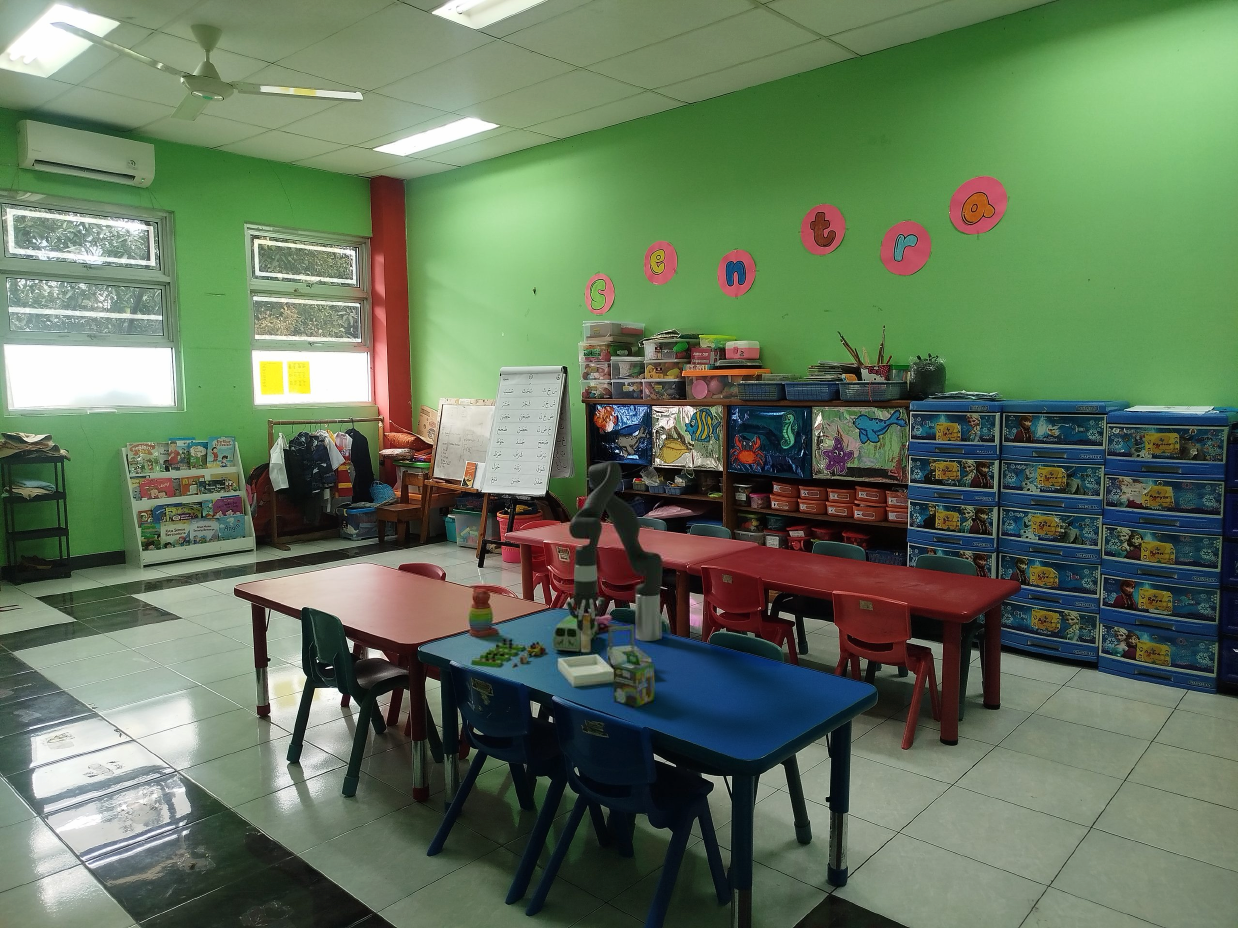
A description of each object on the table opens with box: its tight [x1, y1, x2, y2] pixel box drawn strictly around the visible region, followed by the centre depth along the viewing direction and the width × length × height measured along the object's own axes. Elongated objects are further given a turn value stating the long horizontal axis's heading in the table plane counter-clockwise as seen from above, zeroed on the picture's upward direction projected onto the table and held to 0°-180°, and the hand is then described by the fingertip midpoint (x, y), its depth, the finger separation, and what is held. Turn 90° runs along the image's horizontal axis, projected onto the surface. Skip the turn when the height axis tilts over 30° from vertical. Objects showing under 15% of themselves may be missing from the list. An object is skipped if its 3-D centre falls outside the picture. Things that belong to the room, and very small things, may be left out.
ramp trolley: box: [606, 624, 652, 668], centre depth 279 cm, size 10×16×13 cm, turn 19°
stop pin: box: [581, 613, 591, 653], centre depth 274 cm, size 3×3×12 cm
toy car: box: [552, 615, 598, 653], centre depth 309 cm, size 11×25×10 cm, turn 165°
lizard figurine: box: [595, 614, 621, 636], centre depth 331 cm, size 15×20×7 cm
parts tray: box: [557, 654, 614, 688], centre depth 274 cm, size 14×19×4 cm
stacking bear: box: [468, 587, 499, 638], centre depth 324 cm, size 11×10×18 cm
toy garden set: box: [470, 638, 547, 668], centre depth 294 cm, size 23×19×5 cm
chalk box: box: [613, 652, 656, 708], centre depth 251 cm, size 9×9×15 cm
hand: (585, 629), depth 273 cm, fingers closed on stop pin, 3 cm apart
